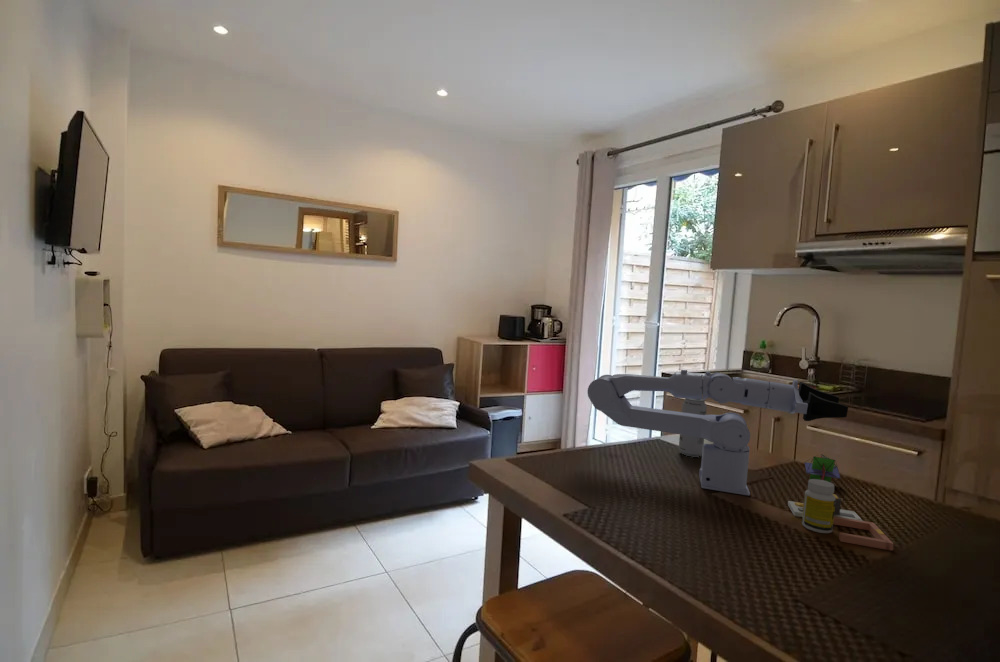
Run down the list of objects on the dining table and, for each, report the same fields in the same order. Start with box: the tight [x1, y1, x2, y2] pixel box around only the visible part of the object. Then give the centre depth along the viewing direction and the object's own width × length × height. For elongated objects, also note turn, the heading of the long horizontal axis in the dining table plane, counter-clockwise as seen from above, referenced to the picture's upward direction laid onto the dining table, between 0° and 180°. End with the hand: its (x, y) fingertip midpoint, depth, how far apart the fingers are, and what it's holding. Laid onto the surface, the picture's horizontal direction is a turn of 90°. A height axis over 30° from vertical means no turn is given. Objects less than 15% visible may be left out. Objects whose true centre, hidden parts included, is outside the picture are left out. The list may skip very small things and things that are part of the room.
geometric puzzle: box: [804, 453, 842, 483], centre depth 118 cm, size 7×7×8 cm
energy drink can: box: [678, 398, 708, 458], centre depth 135 cm, size 6×6×15 cm
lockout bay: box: [833, 516, 894, 552], centre depth 91 cm, size 8×9×1 cm
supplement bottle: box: [801, 478, 836, 534], centre depth 92 cm, size 5×5×8 cm
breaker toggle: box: [833, 493, 842, 514], centre depth 98 cm, size 3×3×3 cm
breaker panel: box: [787, 500, 864, 521], centre depth 99 cm, size 12×6×1 cm, turn 71°
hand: (842, 406), depth 103 cm, fingers open, 7 cm apart
